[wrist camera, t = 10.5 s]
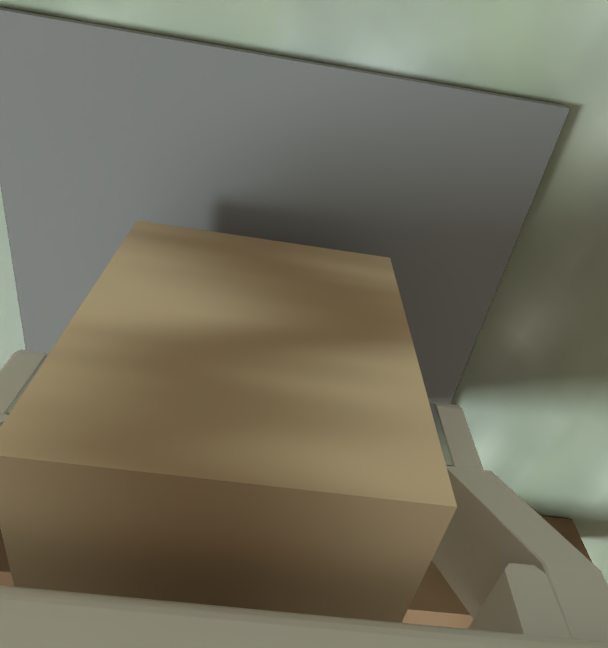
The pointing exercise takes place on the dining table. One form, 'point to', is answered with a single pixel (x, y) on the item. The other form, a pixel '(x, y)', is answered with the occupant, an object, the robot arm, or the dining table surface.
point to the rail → (431, 596)
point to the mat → (259, 169)
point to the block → (229, 434)
